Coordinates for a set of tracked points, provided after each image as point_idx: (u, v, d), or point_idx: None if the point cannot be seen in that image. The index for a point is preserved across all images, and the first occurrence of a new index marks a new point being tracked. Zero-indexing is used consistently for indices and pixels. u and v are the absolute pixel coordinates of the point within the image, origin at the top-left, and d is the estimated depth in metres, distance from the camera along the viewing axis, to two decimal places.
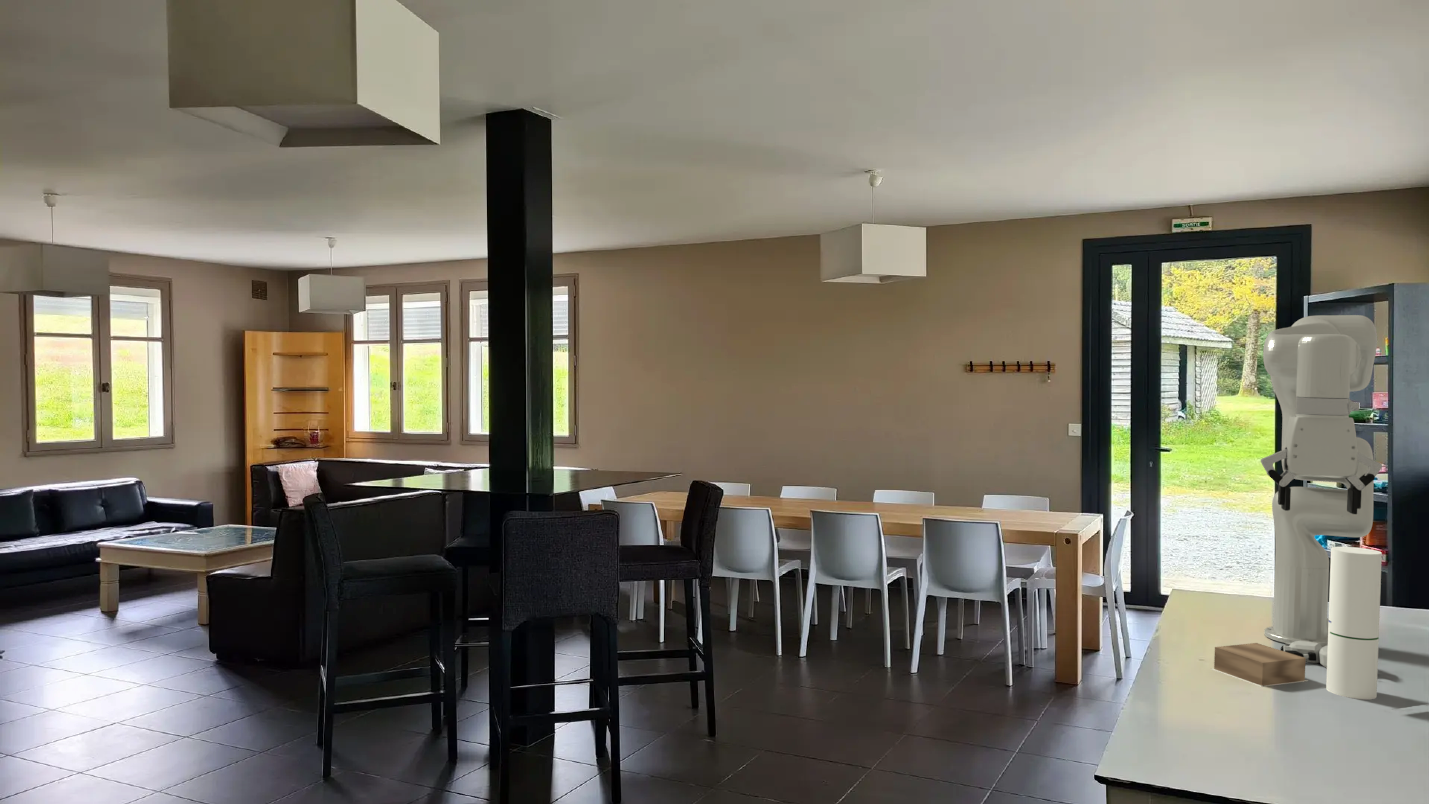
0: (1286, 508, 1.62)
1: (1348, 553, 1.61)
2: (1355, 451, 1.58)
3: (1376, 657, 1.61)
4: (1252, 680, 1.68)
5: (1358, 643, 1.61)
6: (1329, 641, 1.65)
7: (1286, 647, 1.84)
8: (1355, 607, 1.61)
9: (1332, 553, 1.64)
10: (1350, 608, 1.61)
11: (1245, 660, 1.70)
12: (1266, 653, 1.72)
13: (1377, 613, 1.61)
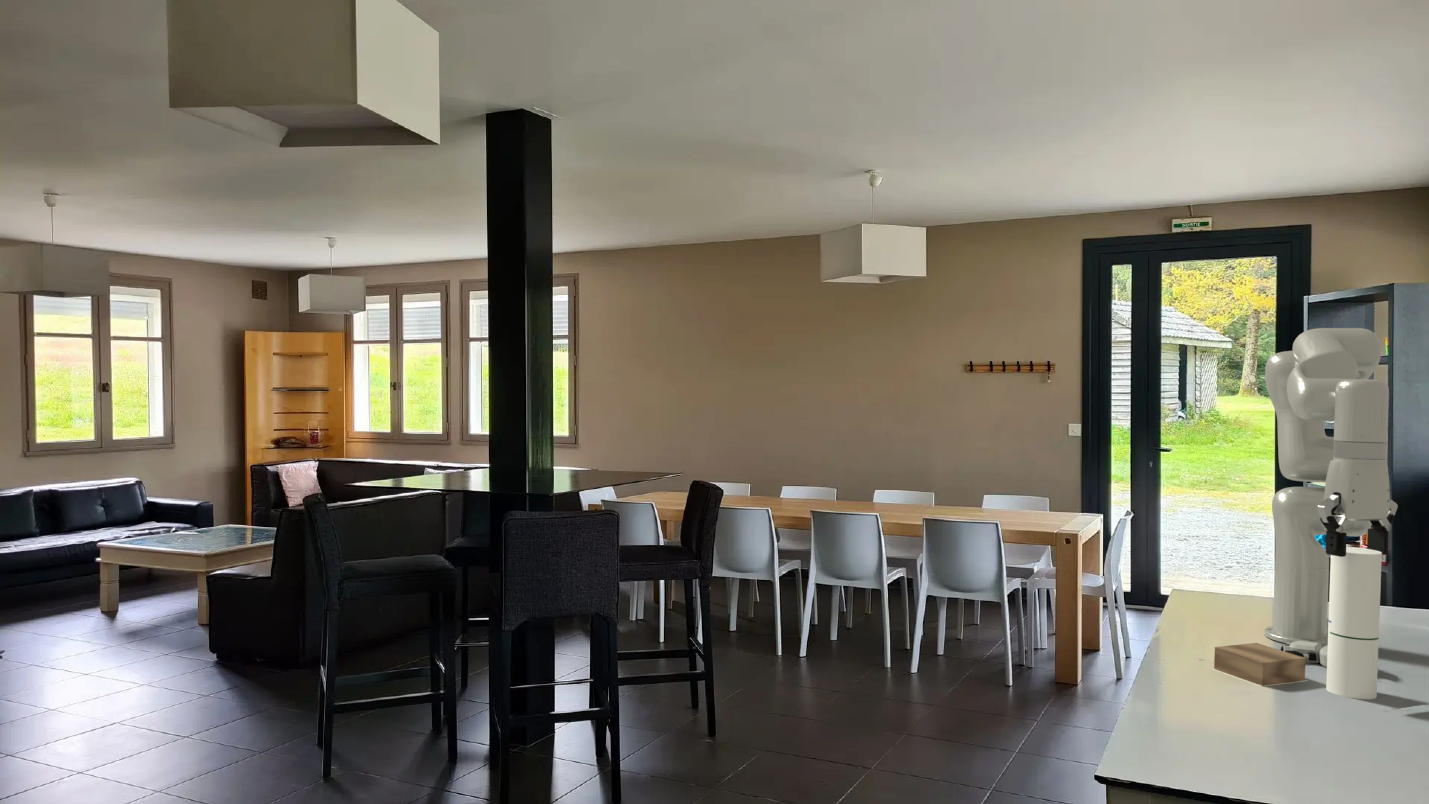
0: (1344, 554, 1.60)
1: (1348, 553, 1.61)
2: (1389, 493, 1.63)
3: (1376, 657, 1.61)
4: (1252, 680, 1.68)
5: (1358, 643, 1.61)
6: (1329, 641, 1.65)
7: (1286, 647, 1.84)
8: (1355, 607, 1.61)
9: None
10: (1350, 608, 1.61)
11: (1245, 660, 1.70)
12: (1266, 653, 1.72)
13: (1377, 613, 1.61)
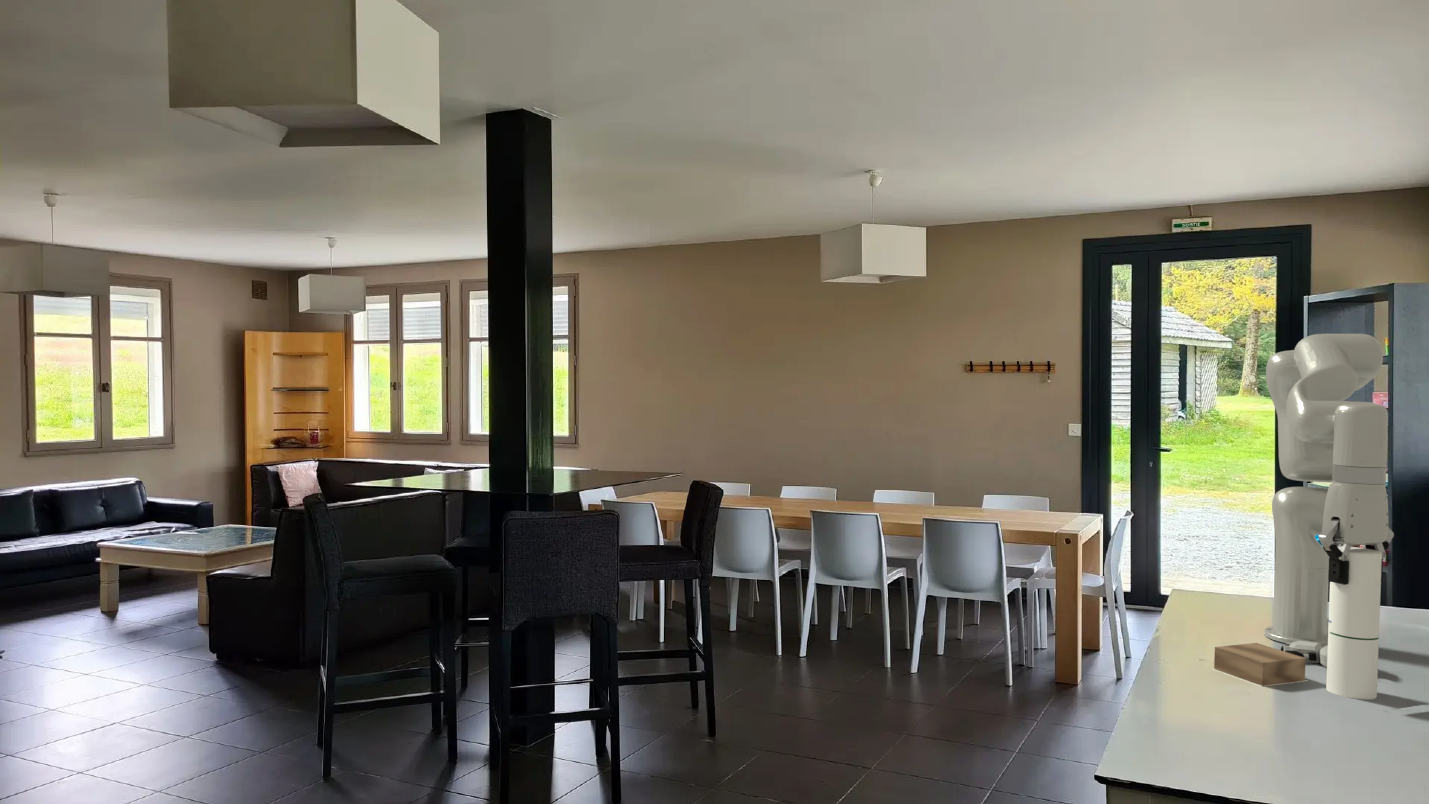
0: (1346, 582, 1.61)
1: (1348, 553, 1.61)
2: None
3: (1376, 657, 1.61)
4: (1252, 680, 1.68)
5: (1358, 643, 1.61)
6: (1329, 641, 1.65)
7: (1286, 647, 1.84)
8: (1355, 607, 1.61)
9: None
10: (1350, 609, 1.61)
11: (1245, 660, 1.70)
12: (1266, 653, 1.72)
13: (1377, 613, 1.61)
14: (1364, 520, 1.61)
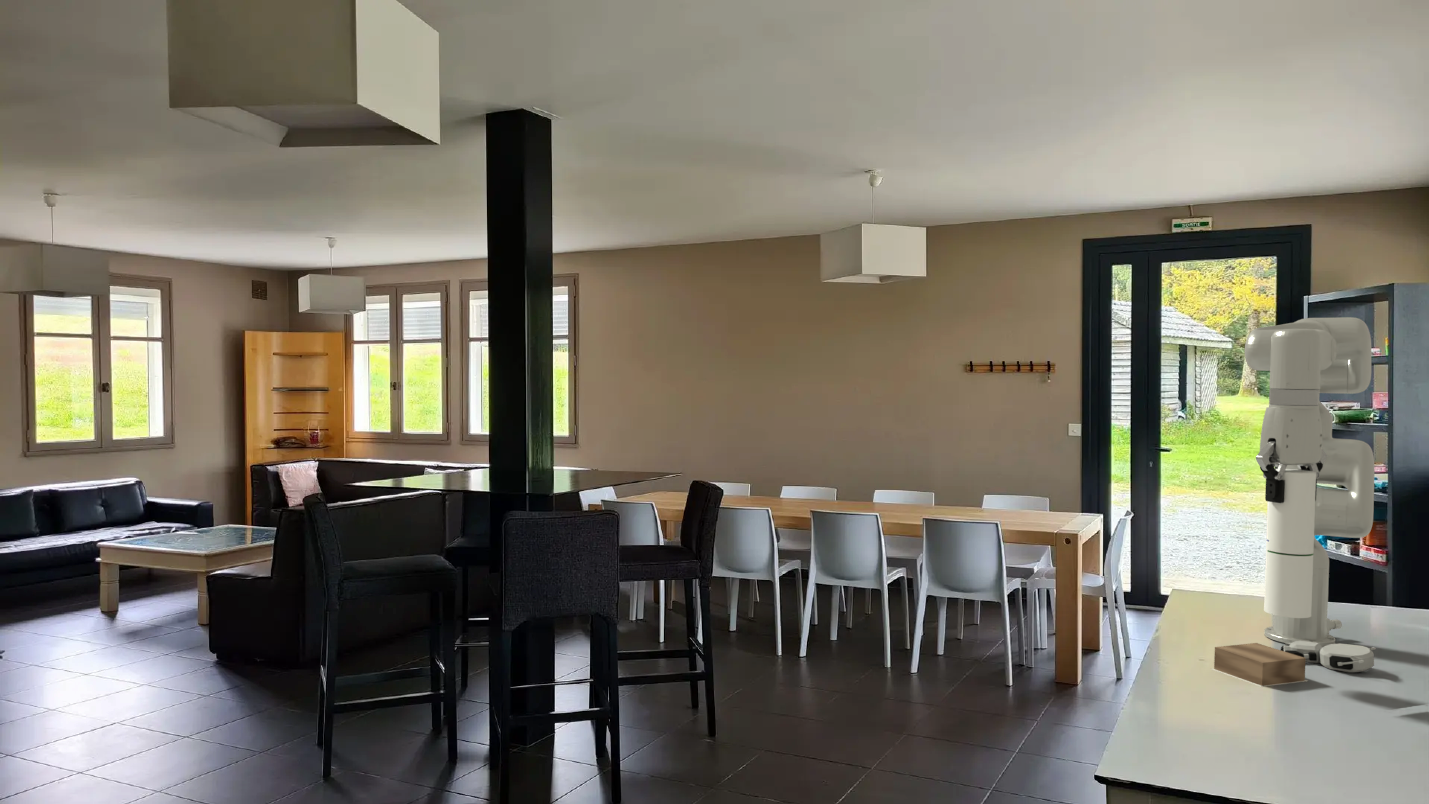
0: (1282, 501, 1.67)
1: (1284, 473, 1.67)
2: (1321, 438, 1.69)
3: (1311, 573, 1.67)
4: (1252, 680, 1.68)
5: (1294, 559, 1.67)
6: (1267, 559, 1.71)
7: (1286, 647, 1.84)
8: (1290, 524, 1.67)
9: None
10: (1286, 526, 1.67)
11: (1245, 660, 1.70)
12: (1266, 653, 1.72)
13: (1311, 530, 1.67)
14: (1299, 440, 1.66)
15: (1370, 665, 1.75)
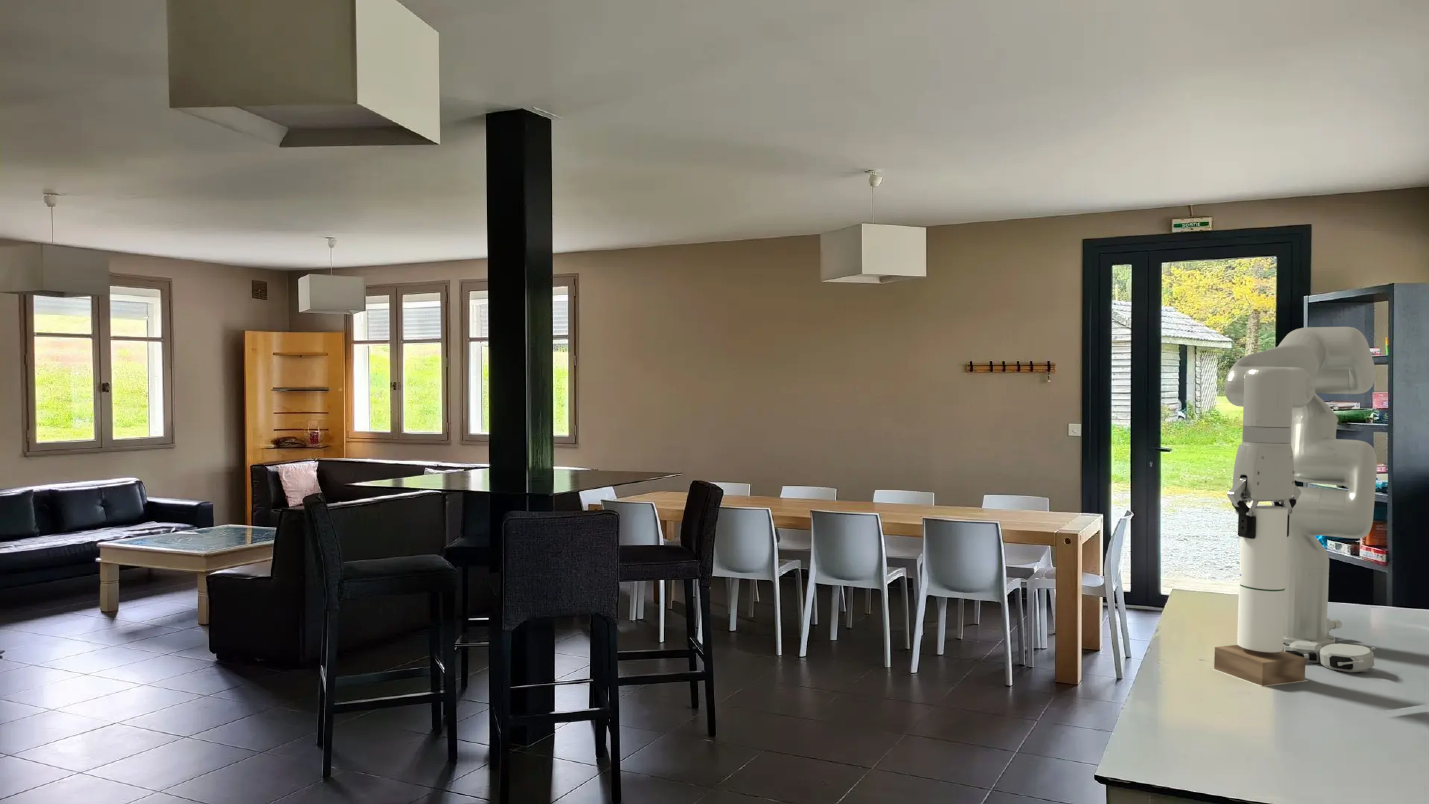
0: (1253, 536, 1.70)
1: (1255, 509, 1.70)
2: (1294, 475, 1.72)
3: (1282, 607, 1.70)
4: (1252, 680, 1.68)
5: (1265, 594, 1.69)
6: (1239, 593, 1.73)
7: (1286, 647, 1.84)
8: (1261, 560, 1.69)
9: None
10: (1257, 561, 1.70)
11: (1245, 660, 1.70)
12: (1266, 653, 1.72)
13: (1283, 566, 1.70)
14: (1270, 477, 1.69)
15: (1370, 665, 1.75)
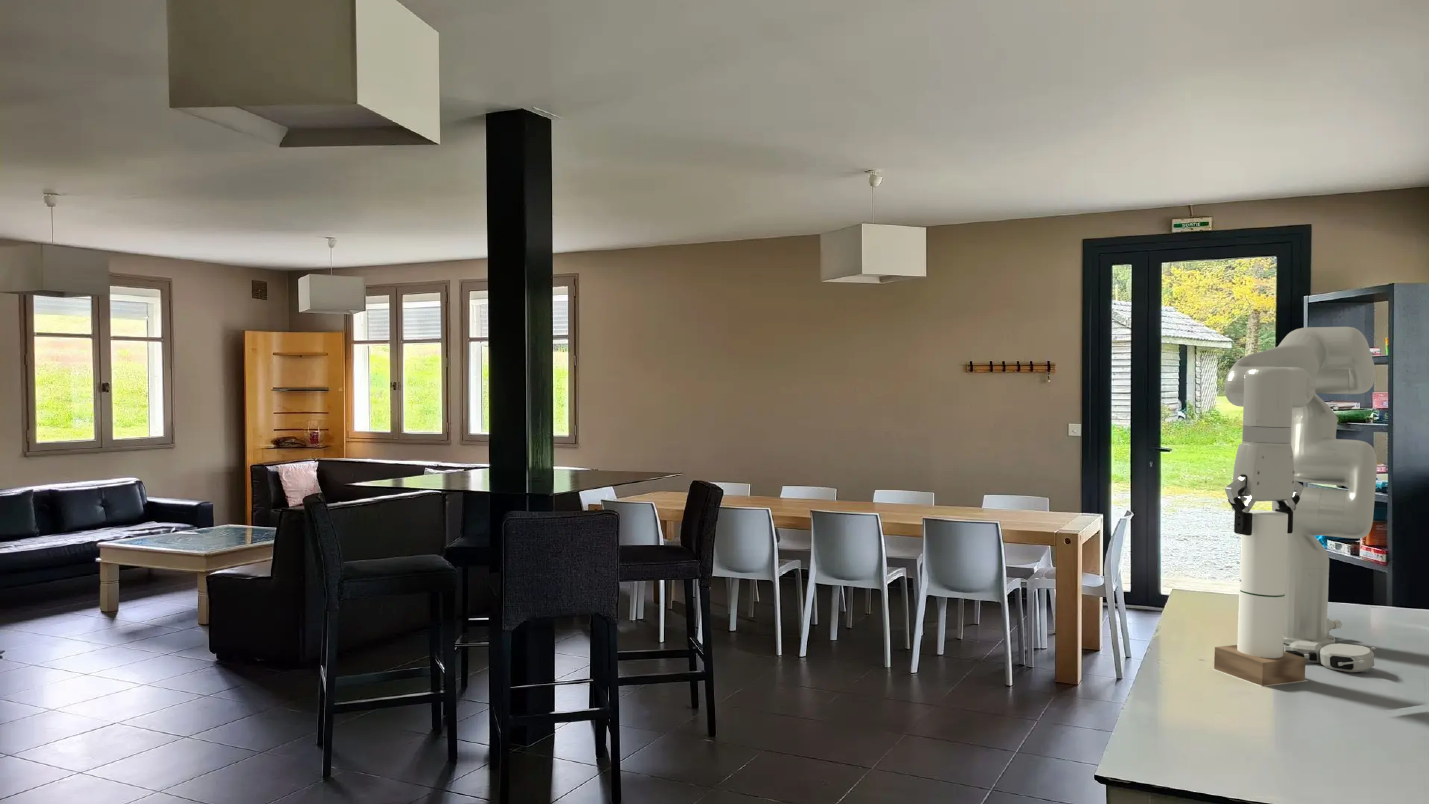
0: (1250, 533, 1.69)
1: (1256, 515, 1.70)
2: (1294, 475, 1.72)
3: (1282, 613, 1.70)
4: (1252, 680, 1.68)
5: (1265, 599, 1.69)
6: (1239, 599, 1.74)
7: (1286, 647, 1.84)
8: (1261, 566, 1.70)
9: None
10: (1257, 567, 1.70)
11: (1245, 660, 1.70)
12: None
13: (1283, 571, 1.70)
14: (1270, 477, 1.69)
15: (1370, 665, 1.75)
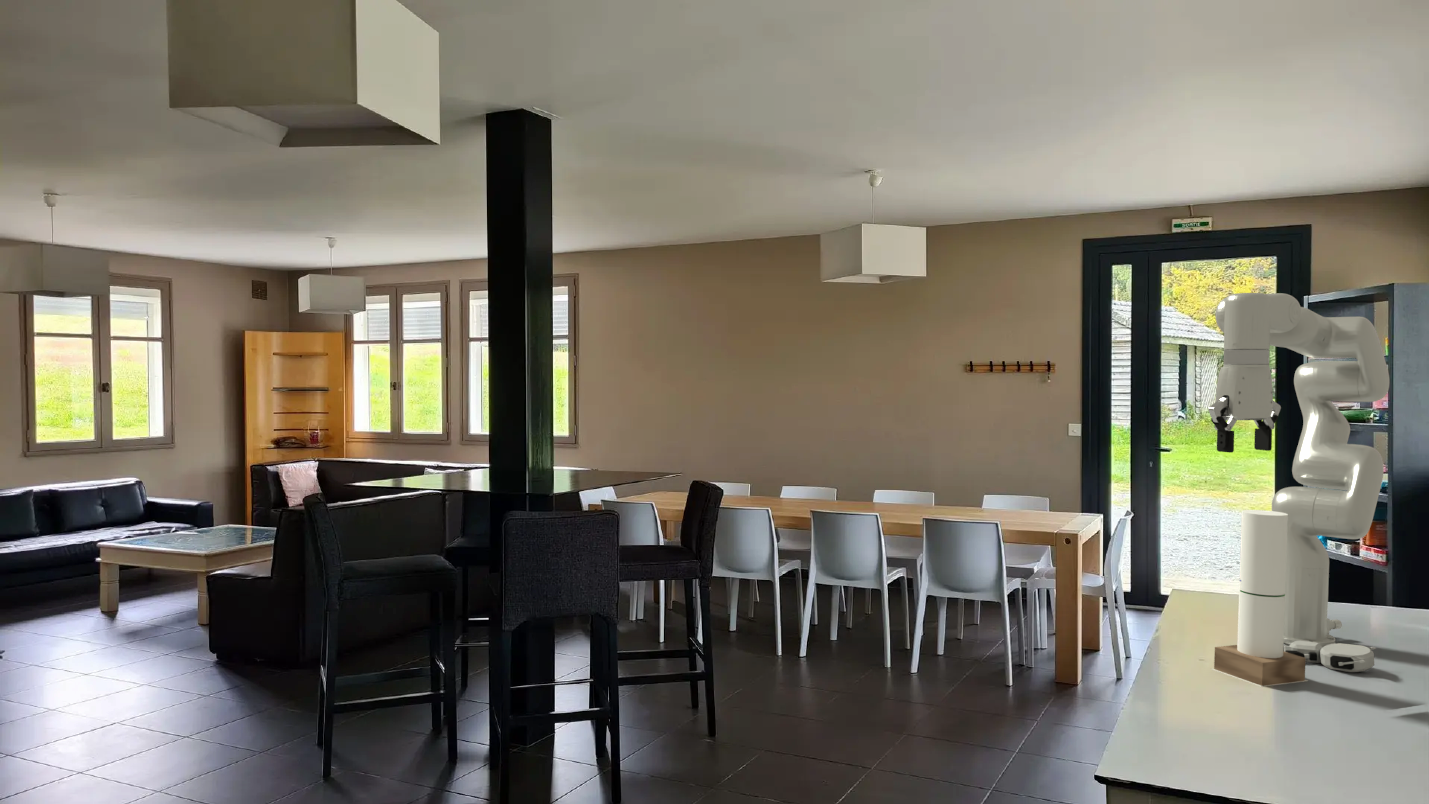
0: (1232, 450, 1.78)
1: (1255, 515, 1.70)
2: (1272, 395, 1.81)
3: (1282, 613, 1.70)
4: (1252, 680, 1.68)
5: (1265, 599, 1.69)
6: (1239, 599, 1.74)
7: (1286, 647, 1.84)
8: (1261, 565, 1.70)
9: (1242, 515, 1.73)
10: (1257, 567, 1.70)
11: (1245, 660, 1.70)
12: None
13: (1283, 571, 1.70)
14: (1250, 397, 1.79)
15: (1370, 665, 1.75)
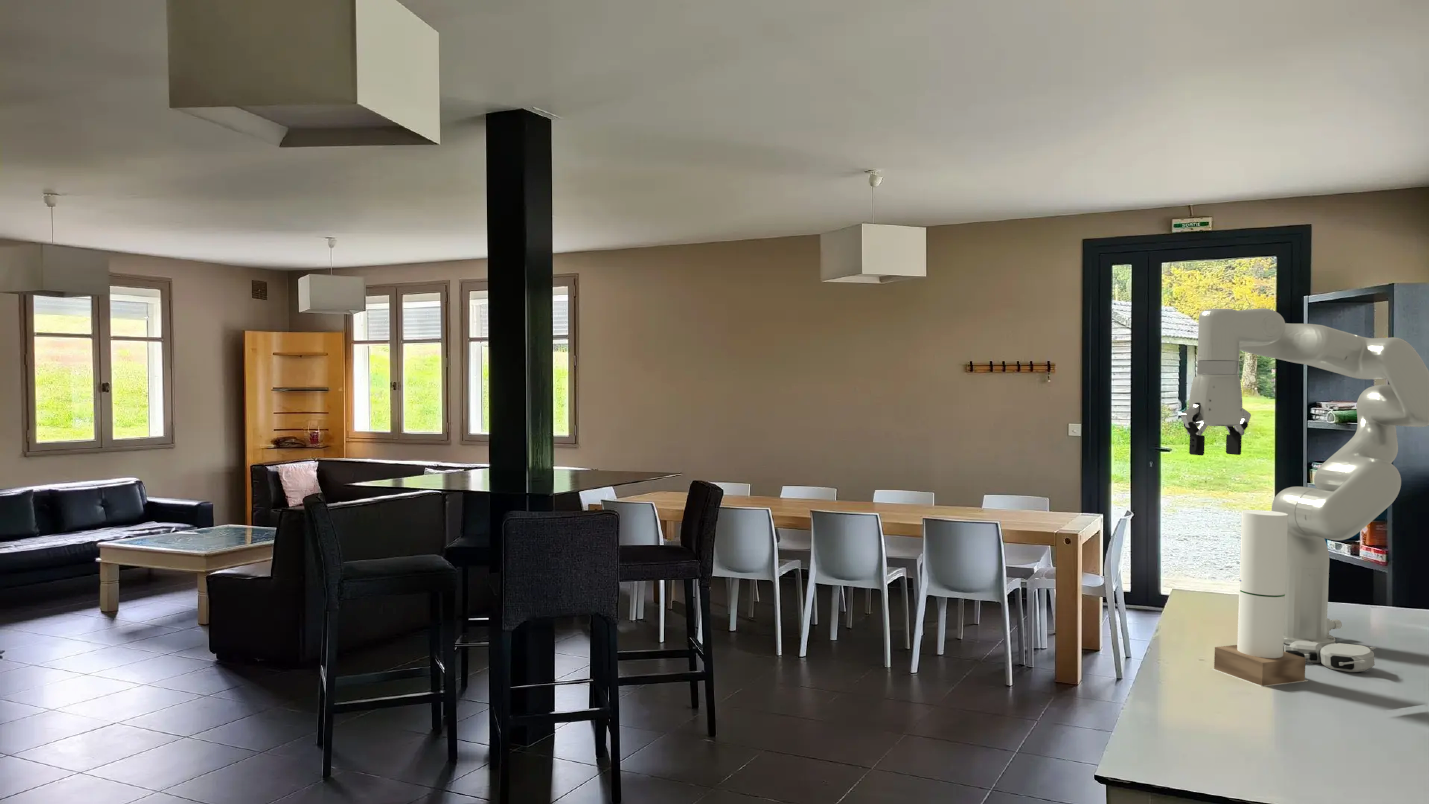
0: (1202, 453, 1.94)
1: (1255, 515, 1.70)
2: None
3: (1282, 613, 1.70)
4: (1252, 680, 1.68)
5: (1265, 599, 1.69)
6: (1239, 599, 1.74)
7: (1287, 647, 1.84)
8: (1261, 565, 1.70)
9: (1242, 515, 1.73)
10: (1257, 567, 1.70)
11: (1245, 660, 1.70)
12: None
13: (1283, 571, 1.70)
14: (1220, 405, 1.94)
15: (1371, 665, 1.75)
